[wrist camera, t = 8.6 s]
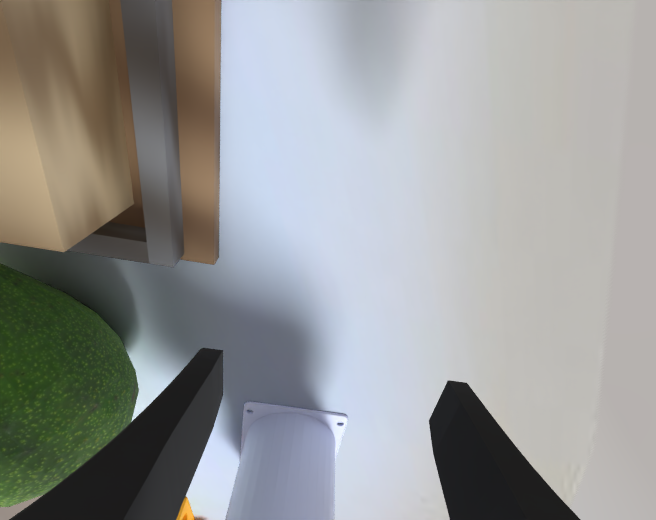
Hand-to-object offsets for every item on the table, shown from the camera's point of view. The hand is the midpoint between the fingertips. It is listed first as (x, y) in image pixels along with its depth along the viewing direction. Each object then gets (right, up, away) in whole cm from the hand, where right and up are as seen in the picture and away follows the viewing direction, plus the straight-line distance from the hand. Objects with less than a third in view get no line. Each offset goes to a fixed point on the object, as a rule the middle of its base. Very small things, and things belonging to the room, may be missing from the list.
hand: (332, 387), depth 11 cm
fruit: (-17, +1, +11) cm, 20 cm away
